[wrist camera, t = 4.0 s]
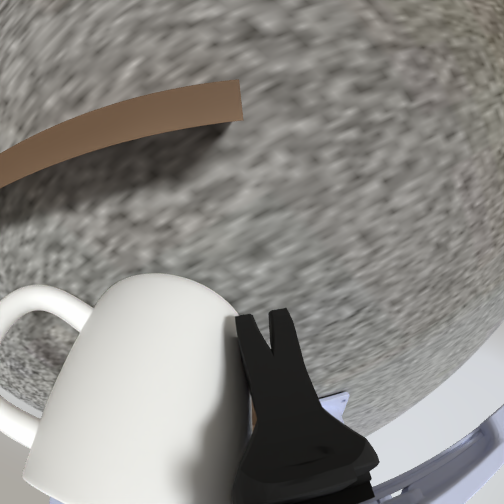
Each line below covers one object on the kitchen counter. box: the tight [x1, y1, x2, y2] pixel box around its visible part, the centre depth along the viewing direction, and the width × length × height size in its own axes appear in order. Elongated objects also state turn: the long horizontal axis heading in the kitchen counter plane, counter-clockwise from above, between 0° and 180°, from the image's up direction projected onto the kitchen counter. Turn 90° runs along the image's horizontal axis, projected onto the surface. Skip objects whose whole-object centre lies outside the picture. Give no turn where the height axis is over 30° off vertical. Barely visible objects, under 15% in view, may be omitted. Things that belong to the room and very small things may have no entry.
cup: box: [0, 273, 252, 504], centre depth 9 cm, size 8×12×10 cm
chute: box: [0, 80, 257, 432], centre depth 12 cm, size 19×18×3 cm
